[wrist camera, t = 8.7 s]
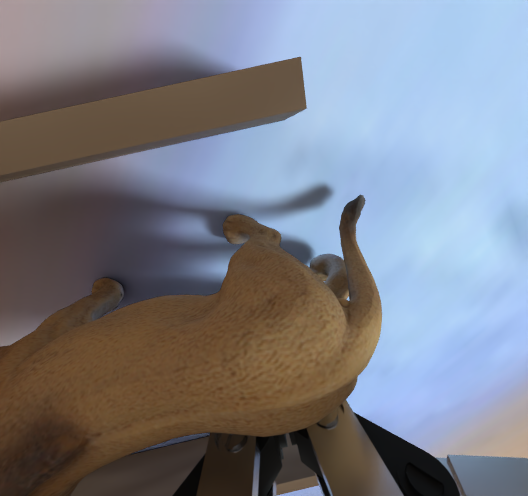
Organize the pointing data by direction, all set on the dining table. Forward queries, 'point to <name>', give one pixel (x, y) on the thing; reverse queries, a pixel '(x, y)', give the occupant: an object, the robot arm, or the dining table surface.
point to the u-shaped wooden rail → (141, 139)
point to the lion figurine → (187, 361)
